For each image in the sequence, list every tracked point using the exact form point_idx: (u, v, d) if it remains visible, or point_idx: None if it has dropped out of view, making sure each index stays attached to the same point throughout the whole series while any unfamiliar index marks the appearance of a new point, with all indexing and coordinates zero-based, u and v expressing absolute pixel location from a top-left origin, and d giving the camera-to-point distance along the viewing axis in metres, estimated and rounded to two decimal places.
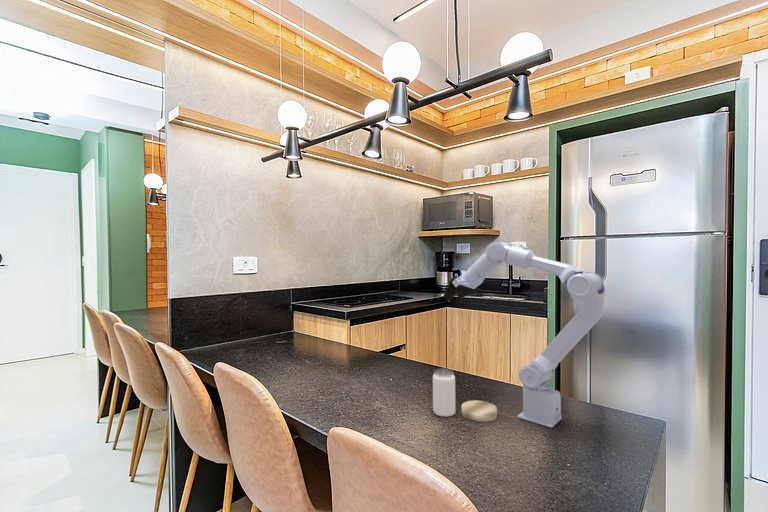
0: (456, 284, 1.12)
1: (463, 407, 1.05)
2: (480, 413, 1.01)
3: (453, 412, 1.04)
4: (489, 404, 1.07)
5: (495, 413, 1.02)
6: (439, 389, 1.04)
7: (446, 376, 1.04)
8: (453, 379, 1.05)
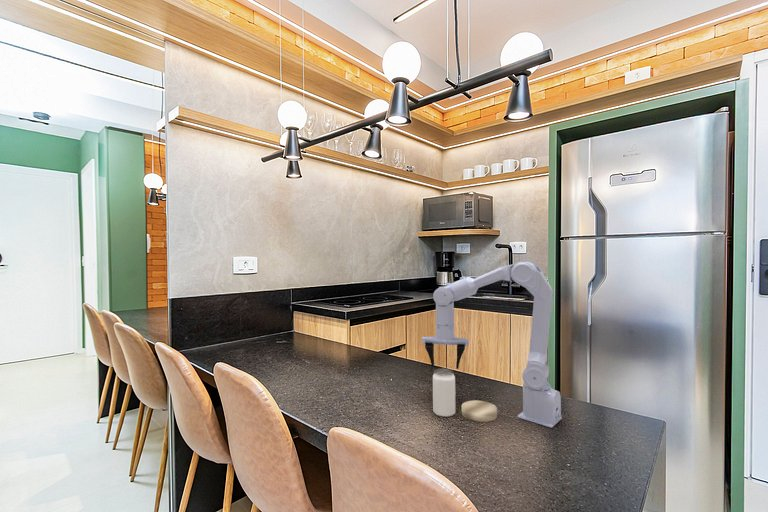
0: None
1: (463, 407, 1.05)
2: (480, 413, 1.01)
3: (453, 412, 1.04)
4: (489, 404, 1.07)
5: (495, 413, 1.02)
6: (439, 389, 1.04)
7: (446, 376, 1.04)
8: (453, 379, 1.05)
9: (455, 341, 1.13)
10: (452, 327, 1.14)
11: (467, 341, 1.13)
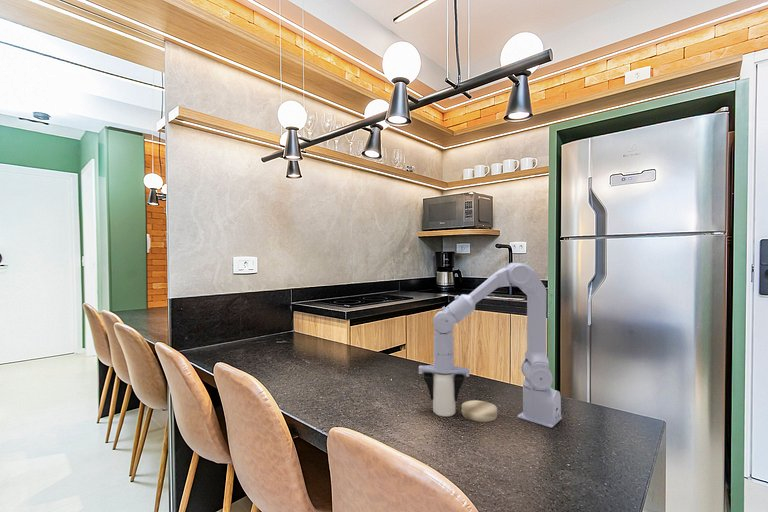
0: None
1: (463, 407, 1.05)
2: (480, 413, 1.01)
3: (453, 412, 1.04)
4: (489, 404, 1.07)
5: (495, 413, 1.02)
6: (439, 389, 1.04)
7: (446, 376, 1.04)
8: (453, 379, 1.05)
9: (455, 371, 1.04)
10: (451, 356, 1.05)
11: (468, 371, 1.04)
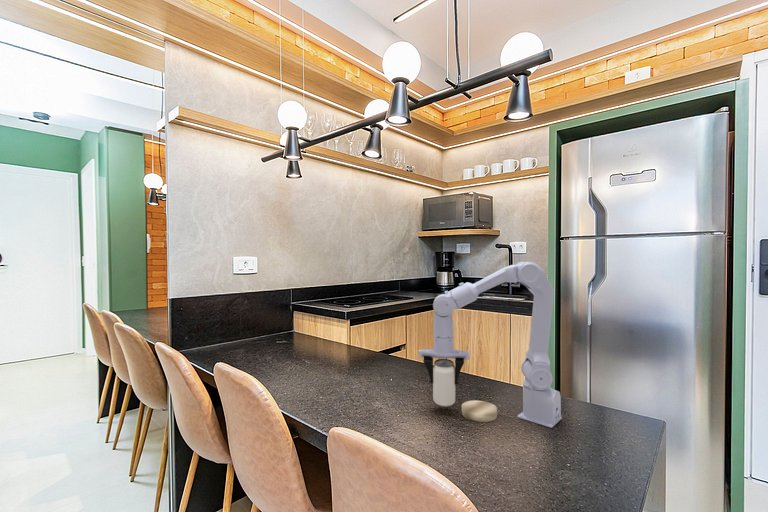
0: None
1: (463, 407, 1.05)
2: (480, 413, 1.01)
3: (453, 401, 1.05)
4: (489, 404, 1.07)
5: (495, 413, 1.02)
6: (439, 381, 1.04)
7: (446, 368, 1.03)
8: (453, 371, 1.04)
9: (455, 355, 1.04)
10: (451, 339, 1.05)
11: (468, 354, 1.04)
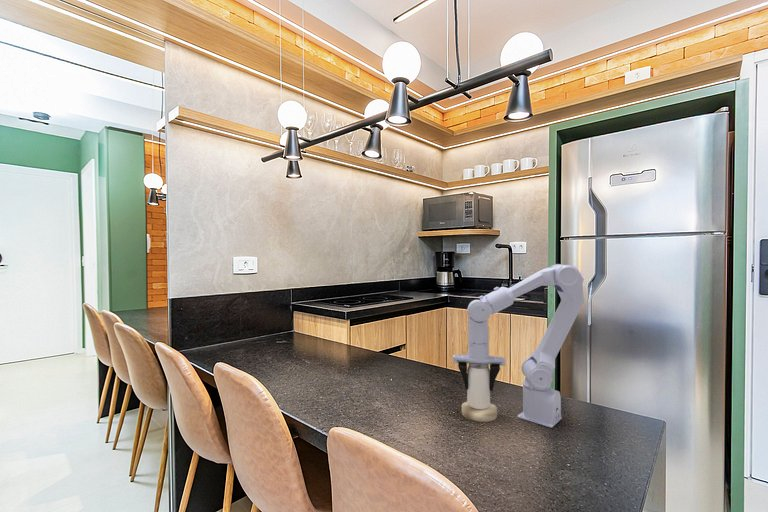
0: (453, 359, 1.06)
1: (463, 407, 1.05)
2: (480, 413, 1.01)
3: (488, 405, 1.04)
4: None
5: (495, 413, 1.02)
6: (474, 383, 1.03)
7: (482, 370, 1.03)
8: (488, 372, 1.04)
9: (490, 361, 1.03)
10: (487, 345, 1.03)
11: (504, 361, 1.03)
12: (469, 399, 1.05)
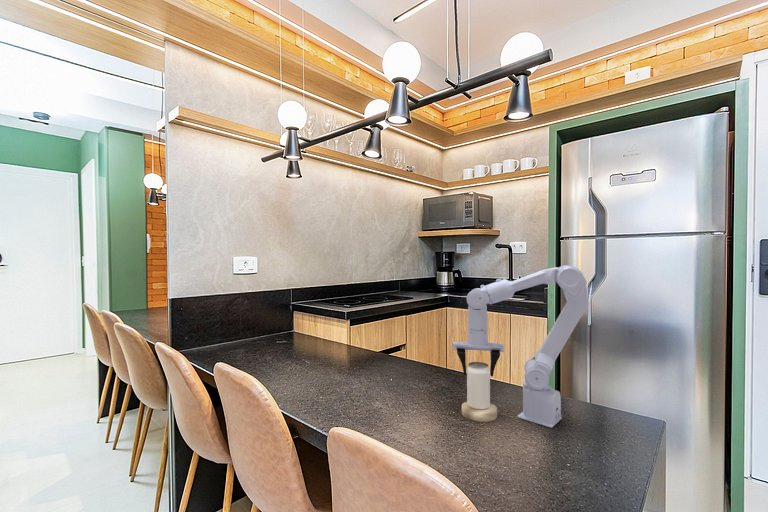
0: (453, 346, 1.09)
1: (463, 407, 1.05)
2: (480, 413, 1.01)
3: (488, 405, 1.04)
4: None
5: (495, 413, 1.02)
6: (474, 382, 1.04)
7: (481, 369, 1.04)
8: (488, 372, 1.04)
9: (490, 347, 1.06)
10: (486, 332, 1.07)
11: (502, 347, 1.06)
12: (469, 399, 1.05)
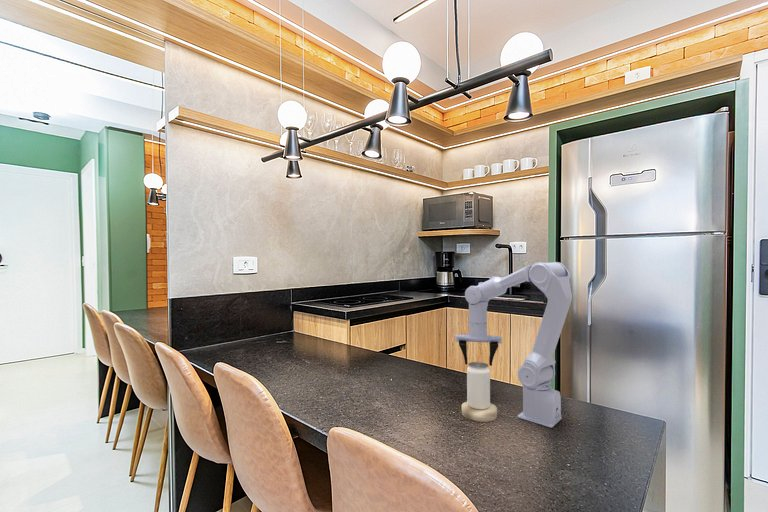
0: (455, 338, 1.20)
1: (463, 407, 1.05)
2: (480, 413, 1.01)
3: (488, 405, 1.04)
4: None
5: (495, 413, 1.02)
6: (474, 382, 1.04)
7: (481, 369, 1.04)
8: (488, 372, 1.04)
9: (489, 339, 1.16)
10: (485, 325, 1.17)
11: (500, 339, 1.16)
12: (469, 399, 1.05)
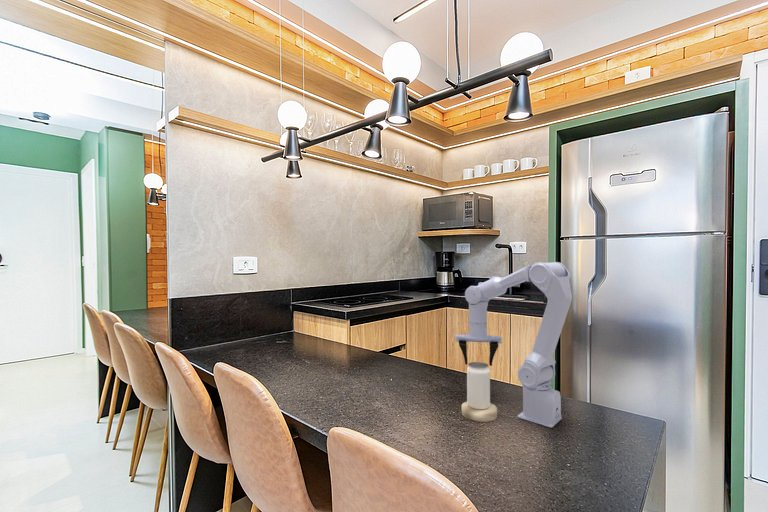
0: (455, 338, 1.20)
1: (463, 407, 1.05)
2: (480, 413, 1.01)
3: (488, 405, 1.04)
4: None
5: (495, 413, 1.02)
6: (474, 382, 1.04)
7: (481, 369, 1.04)
8: (488, 372, 1.04)
9: (489, 339, 1.16)
10: (485, 325, 1.17)
11: (500, 339, 1.16)
12: (469, 399, 1.05)
